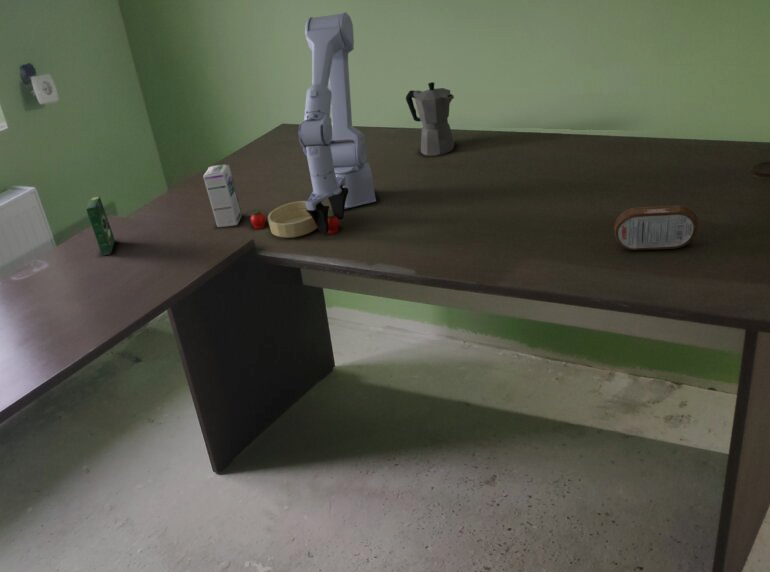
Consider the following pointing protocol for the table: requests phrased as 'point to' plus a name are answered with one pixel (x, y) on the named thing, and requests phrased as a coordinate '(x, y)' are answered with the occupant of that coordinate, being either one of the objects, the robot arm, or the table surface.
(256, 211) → the strawberry
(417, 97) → the coffeepot
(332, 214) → the strawberry
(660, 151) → the table surface
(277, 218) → the bowl
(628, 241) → the tin
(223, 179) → the white carton
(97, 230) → the coffee box
